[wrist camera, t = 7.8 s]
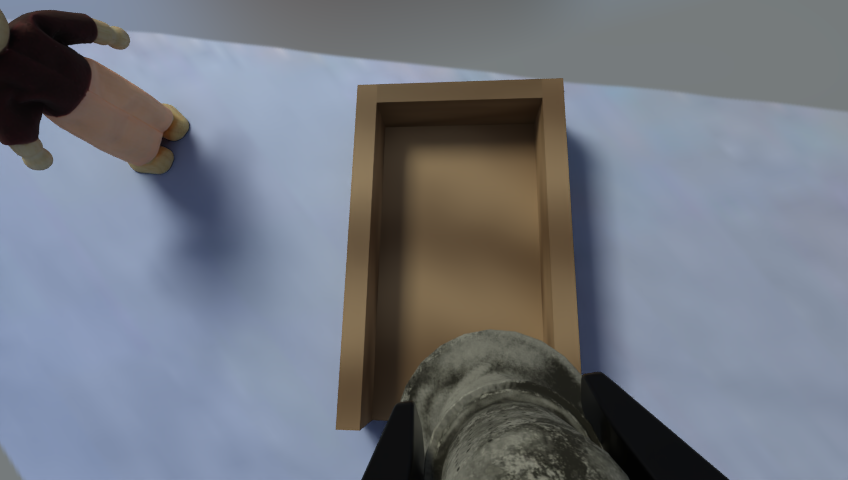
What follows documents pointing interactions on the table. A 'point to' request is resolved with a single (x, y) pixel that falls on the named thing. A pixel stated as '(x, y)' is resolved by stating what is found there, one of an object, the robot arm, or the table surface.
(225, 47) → the table surface
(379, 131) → the open-ended wooden tray
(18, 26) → the grandmother figurine
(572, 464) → the grey tiered stone figure
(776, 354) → the table surface
